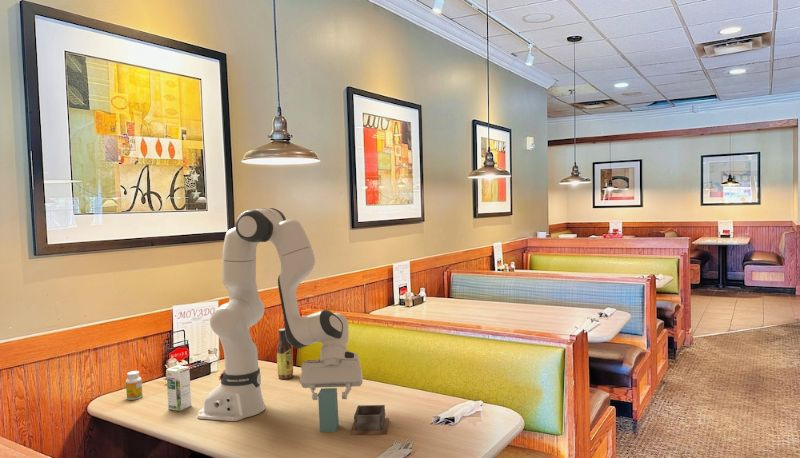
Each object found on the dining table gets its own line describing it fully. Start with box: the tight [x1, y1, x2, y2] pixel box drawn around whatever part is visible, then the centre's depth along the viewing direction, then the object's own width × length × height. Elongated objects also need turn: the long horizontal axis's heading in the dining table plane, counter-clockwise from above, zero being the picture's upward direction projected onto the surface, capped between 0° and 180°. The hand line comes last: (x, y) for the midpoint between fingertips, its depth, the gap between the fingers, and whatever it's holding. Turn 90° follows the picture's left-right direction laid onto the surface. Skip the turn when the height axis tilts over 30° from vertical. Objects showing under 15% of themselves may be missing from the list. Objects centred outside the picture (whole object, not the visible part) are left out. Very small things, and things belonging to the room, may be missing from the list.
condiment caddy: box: [350, 404, 390, 436], centre depth 171 cm, size 11×10×6 cm
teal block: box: [317, 387, 340, 433], centre depth 172 cm, size 5×5×12 cm
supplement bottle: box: [125, 370, 144, 401], centre depth 208 cm, size 5×5×10 cm
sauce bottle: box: [276, 327, 294, 380], centre depth 224 cm, size 6×6×20 cm
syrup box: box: [165, 365, 192, 412], centre depth 196 cm, size 6×6×14 cm
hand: (329, 398), depth 173 cm, fingers open, 8 cm apart
